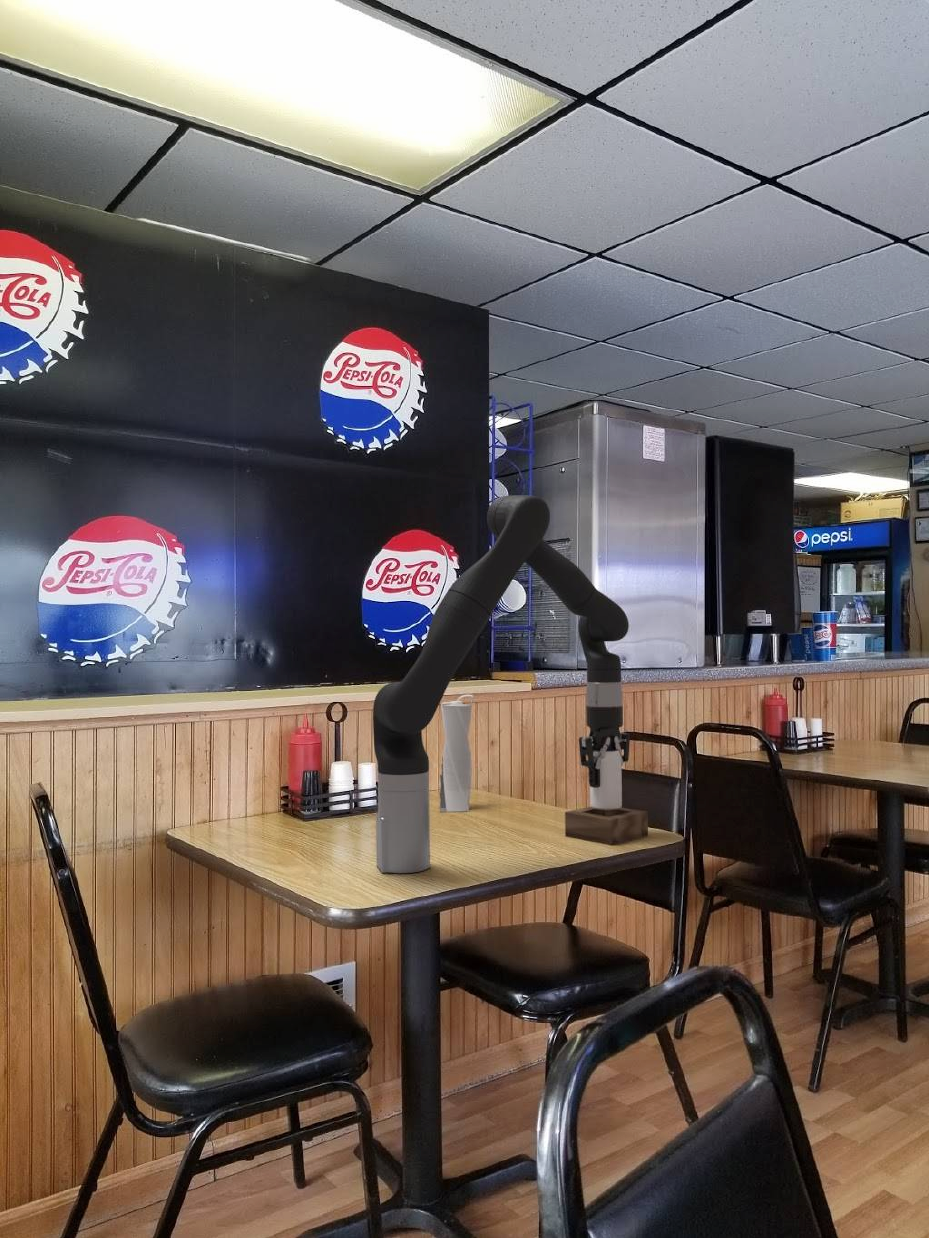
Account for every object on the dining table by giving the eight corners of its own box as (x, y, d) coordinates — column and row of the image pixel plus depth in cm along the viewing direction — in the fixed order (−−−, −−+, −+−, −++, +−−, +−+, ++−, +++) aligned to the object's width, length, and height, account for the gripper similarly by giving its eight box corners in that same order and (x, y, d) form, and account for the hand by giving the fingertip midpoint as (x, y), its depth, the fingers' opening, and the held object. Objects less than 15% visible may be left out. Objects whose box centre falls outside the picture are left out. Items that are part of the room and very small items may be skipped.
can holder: (611, 845, 183) (610, 819, 183) (565, 836, 192) (565, 811, 192) (648, 835, 191) (647, 811, 192) (602, 827, 200) (602, 804, 200)
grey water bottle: (473, 807, 228) (472, 693, 229) (475, 813, 220) (474, 695, 221) (439, 808, 228) (438, 694, 229) (440, 814, 220) (438, 695, 221)
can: (621, 810, 188) (620, 751, 188) (589, 810, 189) (588, 751, 190) (622, 805, 195) (621, 747, 195) (591, 804, 196) (590, 747, 196)
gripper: (596, 706, 185) (597, 791, 184) (640, 702, 195) (641, 783, 194) (567, 705, 190) (568, 787, 190) (612, 701, 200) (613, 779, 200)
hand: (605, 785), depth 192 cm, fingers closed on can, 6 cm apart
